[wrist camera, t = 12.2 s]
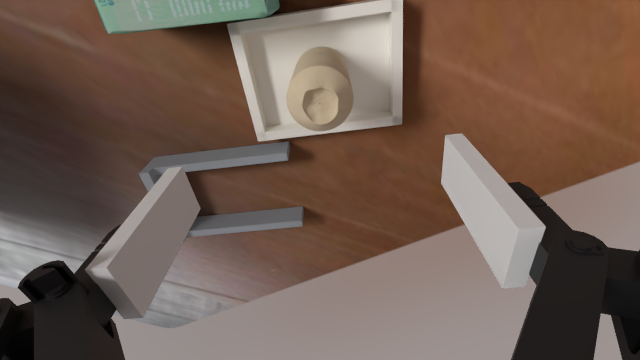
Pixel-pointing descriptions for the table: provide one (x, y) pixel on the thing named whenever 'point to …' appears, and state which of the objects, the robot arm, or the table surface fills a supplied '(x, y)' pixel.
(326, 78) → the candle
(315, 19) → the tray
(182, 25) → the box
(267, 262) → the table surface
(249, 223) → the bracket
